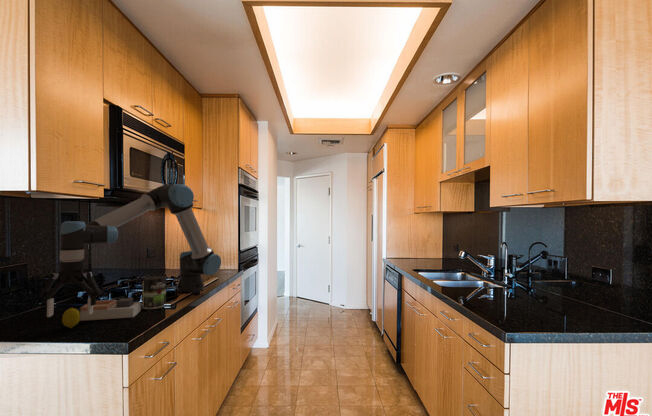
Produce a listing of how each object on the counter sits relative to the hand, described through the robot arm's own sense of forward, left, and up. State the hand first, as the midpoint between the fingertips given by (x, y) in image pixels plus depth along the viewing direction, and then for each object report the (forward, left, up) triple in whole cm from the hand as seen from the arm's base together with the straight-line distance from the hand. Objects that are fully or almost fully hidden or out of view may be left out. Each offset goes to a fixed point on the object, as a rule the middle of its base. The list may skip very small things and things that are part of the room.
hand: (70, 314), depth 124 cm
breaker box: (-9, -14, -5) cm, 18 cm away
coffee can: (-23, -25, -5) cm, 35 cm away
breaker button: (-14, -14, -5) cm, 21 cm away
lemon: (0, 0, -5) cm, 5 cm away
